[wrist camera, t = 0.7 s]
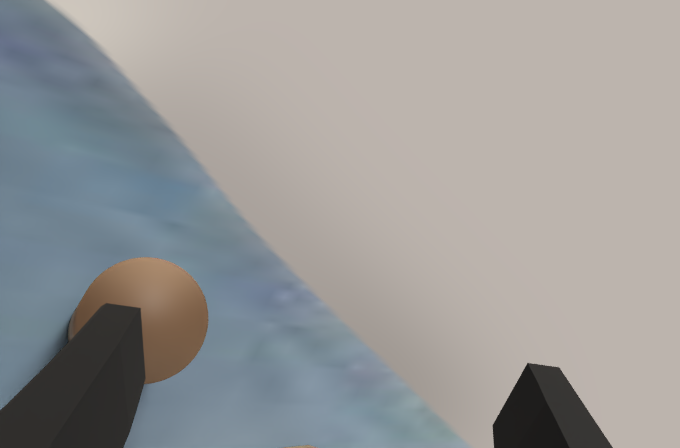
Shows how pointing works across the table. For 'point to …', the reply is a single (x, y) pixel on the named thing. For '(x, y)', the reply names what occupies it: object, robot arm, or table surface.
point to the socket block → (306, 447)
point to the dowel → (152, 311)
